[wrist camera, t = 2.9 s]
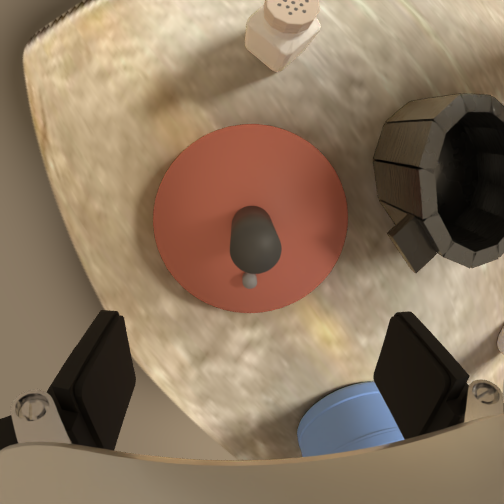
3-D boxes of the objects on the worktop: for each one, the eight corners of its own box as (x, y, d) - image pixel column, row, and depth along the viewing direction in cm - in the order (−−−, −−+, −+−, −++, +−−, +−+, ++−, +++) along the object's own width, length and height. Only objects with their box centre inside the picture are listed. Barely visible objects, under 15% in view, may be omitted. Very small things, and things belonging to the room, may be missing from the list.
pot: (450, 66, 23) (500, 54, 15) (505, 171, 26) (553, 184, 19) (326, 173, 26) (359, 185, 19) (404, 278, 30) (443, 316, 23)
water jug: (272, 425, 37) (296, 623, 10) (371, 358, 33) (473, 567, 7) (334, 459, 41) (371, 605, 14) (417, 406, 38) (492, 551, 11)
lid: (160, 125, 24) (126, 119, 16) (345, 134, 25) (389, 132, 17) (164, 297, 30) (143, 348, 22) (327, 300, 30) (354, 350, 22)
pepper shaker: (307, 48, 22) (340, 7, 13) (276, 76, 23) (296, 42, 14) (273, 19, 21) (290, -32, 12) (241, 47, 22) (243, 1, 13)
